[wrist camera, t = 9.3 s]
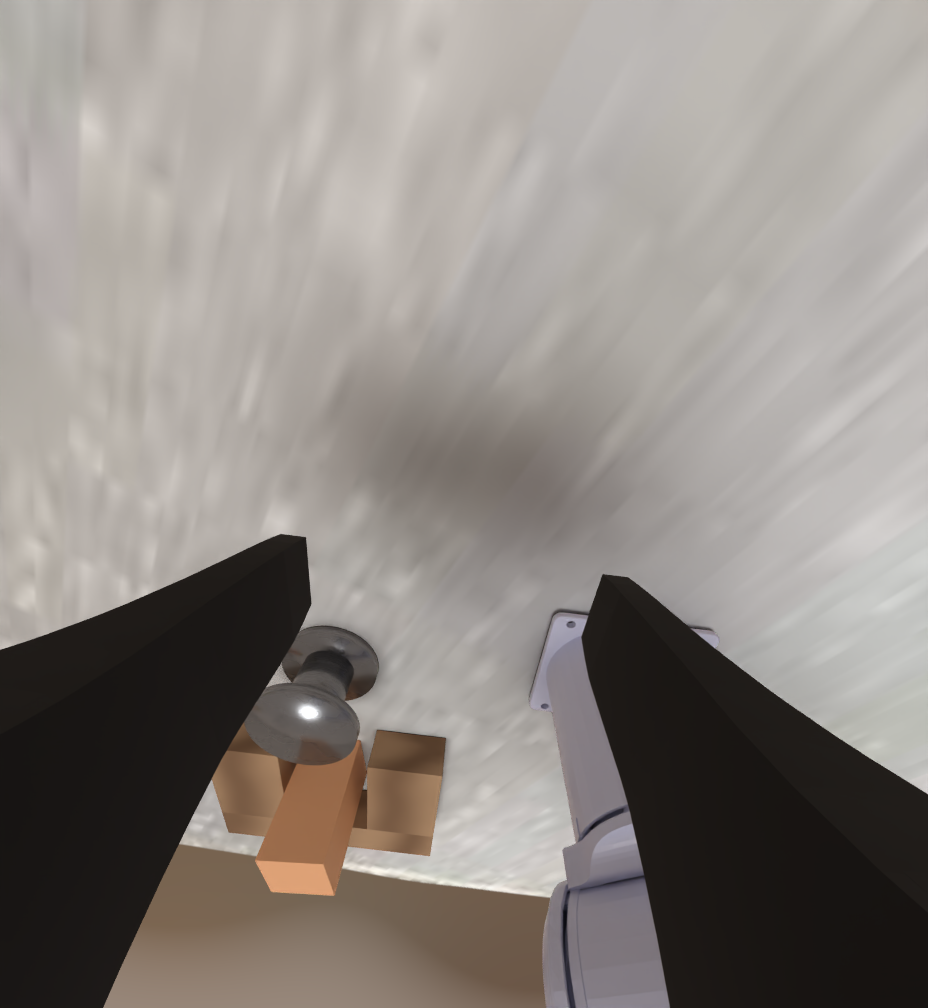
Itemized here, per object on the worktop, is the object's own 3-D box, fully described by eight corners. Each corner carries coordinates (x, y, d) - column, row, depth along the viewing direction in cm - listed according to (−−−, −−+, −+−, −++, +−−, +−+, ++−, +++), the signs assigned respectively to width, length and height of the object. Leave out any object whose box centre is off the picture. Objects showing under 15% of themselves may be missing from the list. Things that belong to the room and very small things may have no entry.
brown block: (360, 740, 27) (323, 864, 21) (366, 772, 29) (334, 895, 23) (307, 738, 27) (255, 860, 21) (317, 770, 29) (271, 891, 23)
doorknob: (379, 632, 22) (355, 701, 18) (377, 698, 25) (357, 770, 21) (281, 620, 22) (235, 686, 18) (290, 687, 25) (252, 758, 21)
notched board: (445, 738, 27) (442, 776, 24) (433, 818, 31) (429, 856, 29) (225, 711, 26) (201, 747, 24) (247, 796, 31) (228, 832, 29)
